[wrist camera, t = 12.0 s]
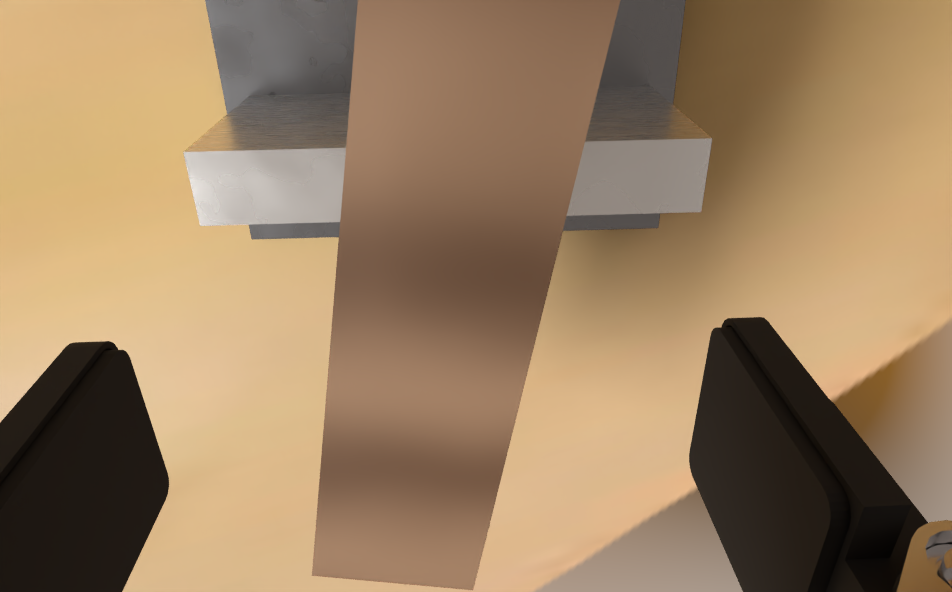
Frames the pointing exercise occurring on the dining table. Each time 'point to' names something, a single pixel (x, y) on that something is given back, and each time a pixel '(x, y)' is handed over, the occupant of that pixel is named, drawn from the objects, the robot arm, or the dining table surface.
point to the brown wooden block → (445, 268)
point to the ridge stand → (327, 111)
